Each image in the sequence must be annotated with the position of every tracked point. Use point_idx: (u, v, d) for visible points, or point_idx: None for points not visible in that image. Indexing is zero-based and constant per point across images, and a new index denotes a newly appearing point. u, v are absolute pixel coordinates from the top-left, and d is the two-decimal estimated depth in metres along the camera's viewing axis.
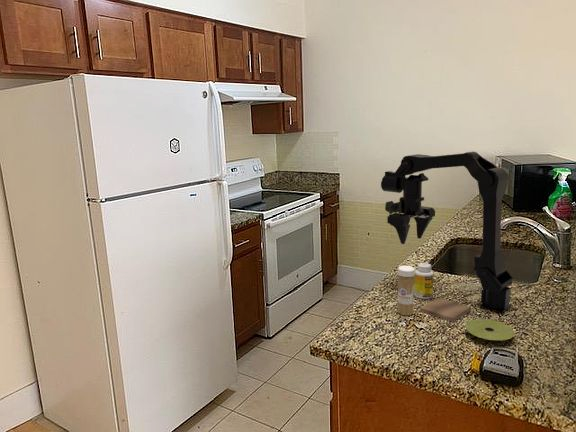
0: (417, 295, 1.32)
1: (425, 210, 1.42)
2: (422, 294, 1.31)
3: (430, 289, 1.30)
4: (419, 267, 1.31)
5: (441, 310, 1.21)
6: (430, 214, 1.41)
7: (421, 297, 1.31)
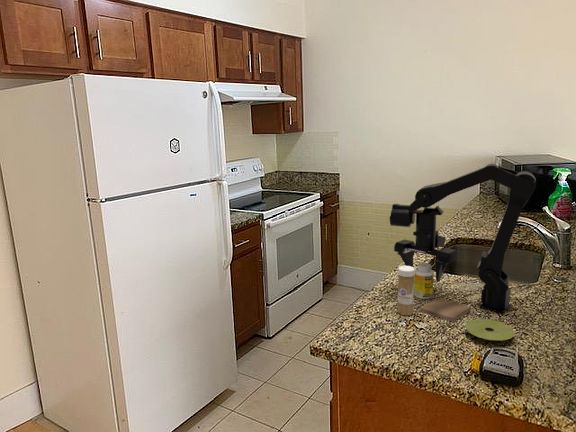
0: (417, 295, 1.32)
1: None
2: (422, 294, 1.31)
3: (430, 289, 1.30)
4: (419, 267, 1.31)
5: (441, 310, 1.21)
6: (438, 257, 1.24)
7: (421, 297, 1.31)
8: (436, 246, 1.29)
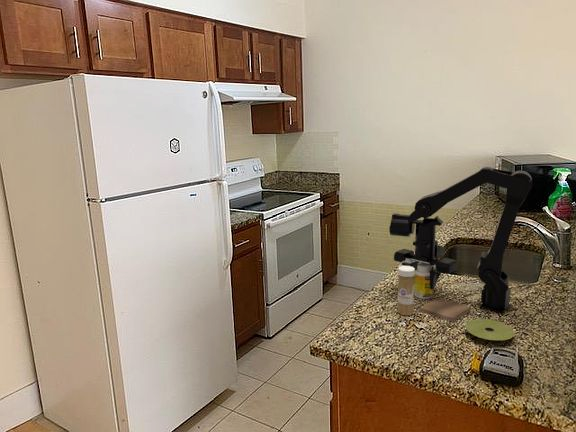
0: (417, 295, 1.32)
1: None
2: (422, 294, 1.31)
3: (430, 289, 1.30)
4: (419, 267, 1.31)
5: (441, 310, 1.21)
6: (437, 268, 1.25)
7: (421, 297, 1.31)
8: (435, 256, 1.30)
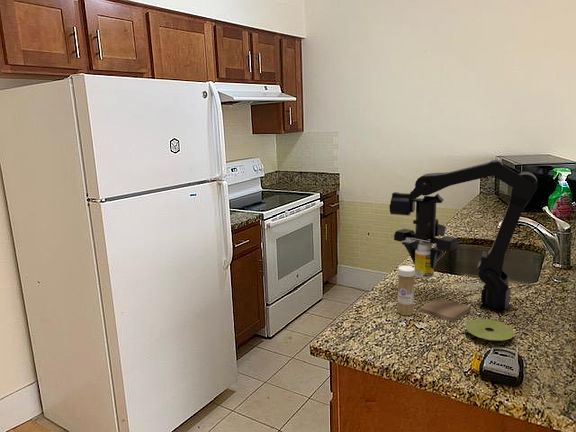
0: (418, 274, 1.30)
1: None
2: (422, 273, 1.29)
3: (431, 268, 1.29)
4: (419, 246, 1.29)
5: (441, 310, 1.21)
6: (438, 245, 1.23)
7: (422, 276, 1.30)
8: (436, 234, 1.29)
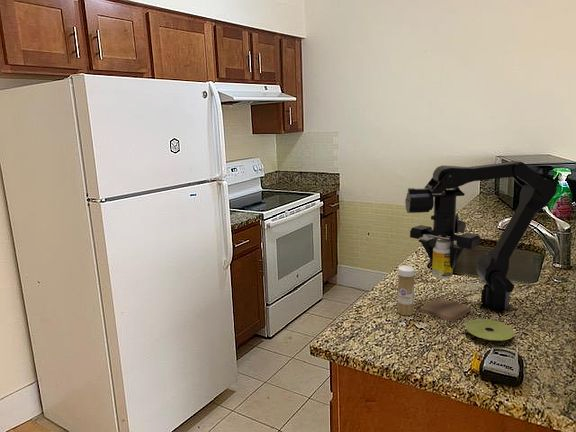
0: (436, 274, 1.21)
1: None
2: (441, 273, 1.20)
3: (450, 267, 1.20)
4: (438, 243, 1.20)
5: (441, 310, 1.21)
6: (458, 243, 1.14)
7: (440, 276, 1.20)
8: (456, 231, 1.19)
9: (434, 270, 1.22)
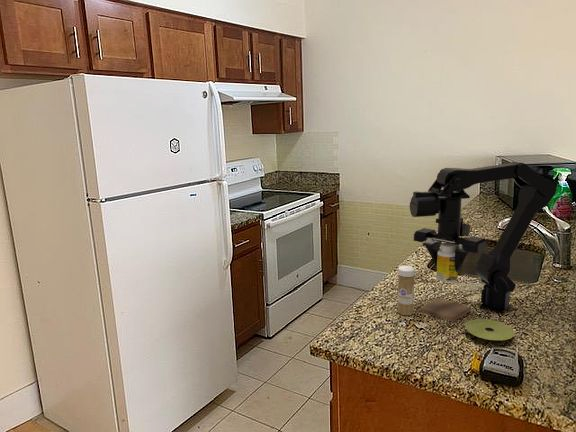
0: (440, 278, 1.19)
1: None
2: (446, 277, 1.18)
3: (455, 271, 1.18)
4: (442, 247, 1.18)
5: (441, 310, 1.21)
6: (464, 247, 1.12)
7: (445, 280, 1.18)
8: (461, 235, 1.17)
9: (439, 274, 1.20)
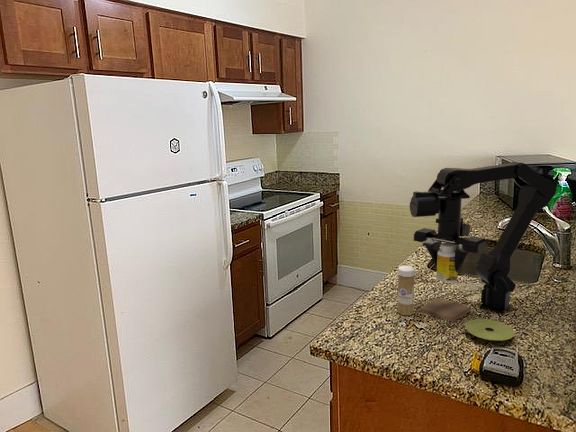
0: (440, 278, 1.19)
1: None
2: (446, 277, 1.18)
3: (455, 271, 1.18)
4: (442, 247, 1.18)
5: (441, 310, 1.21)
6: (464, 247, 1.12)
7: (445, 280, 1.18)
8: (461, 235, 1.17)
9: (439, 274, 1.20)
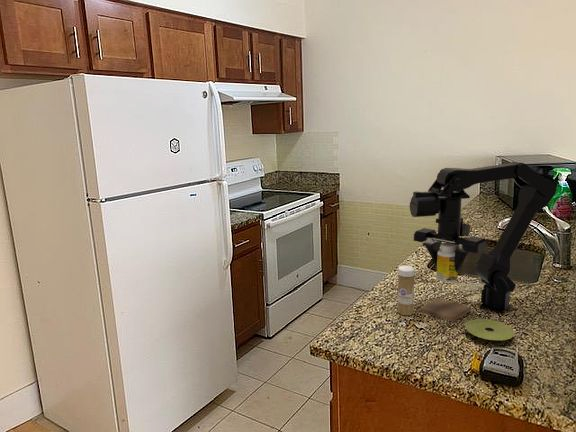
0: (440, 278, 1.19)
1: None
2: (446, 277, 1.18)
3: (455, 271, 1.18)
4: (442, 247, 1.18)
5: (441, 310, 1.21)
6: (464, 247, 1.12)
7: (445, 280, 1.18)
8: (461, 235, 1.17)
9: (439, 274, 1.20)
